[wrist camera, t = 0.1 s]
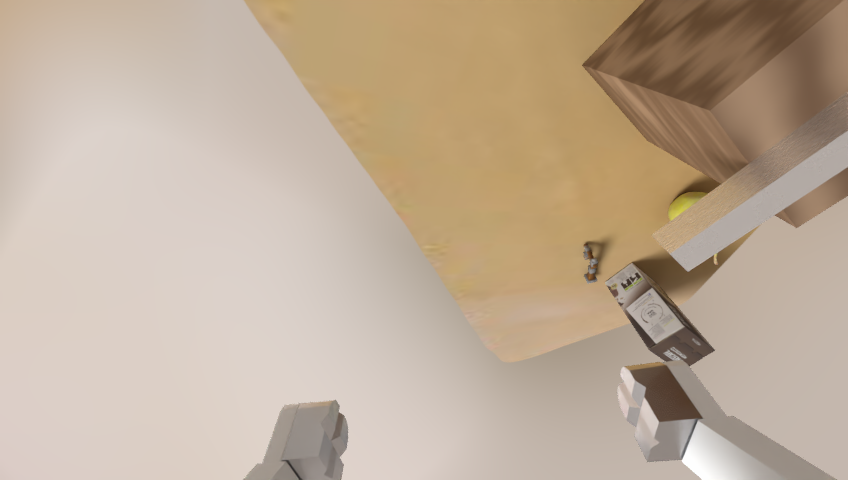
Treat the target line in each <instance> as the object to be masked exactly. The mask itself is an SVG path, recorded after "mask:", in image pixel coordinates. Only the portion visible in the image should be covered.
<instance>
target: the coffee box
mask: <svg viewBox="0 0 848 480" xmlns="http://www.w3.org/2000/svg"><path fill="white" fill-rule="evenodd" d="M605 284H606V285H607V287H608V288H609V290H610V291H611V293H612V294H613V296H614V297H615V299H616V300H617V302H618V303H619V305H620V306H621V308H622V309H623V311H624V312H625V314H626V315H627V317H628V319H629V320H630V322H631V323H632V325H633V326H634V328H635V329H636V331H637V332H638V334H639V335H640V337H641V338H642V340H643V341H644V343H645V344H646V346H647V347H648V349H649V350H650V351H651V352H653V353H654V354H656V355H657V356H659V357H660V358H661V359H663V360H664V361H666V362H668V361H675V360H683V361H684V362H686V363H687V364H688V366H690V365H692V364H694V363H695V362H697V361H699V360H700V359H702V358H703V357H705V356H706V355H708V354H710V353H711V352H713V351H715V350H714V349H713V348H712V346H711V345H710V344H709V343H708V342H707V340H706V339H705V338H704V337H703V336H702V335H701V333H700V332H699V331H698V330H697V329H696V328H695V327H694V325H693V324H692V323H691V322H690V321H689V320H688V318H687V317H686V316H685V315H684V314H683V313H682V312H681V310H680V309H679V308H678V307H677V306H676V305H675V304H674V302H673V301H672V300H671V299H670V298H669V297H668V296H667V294H666V293H665V292H664V291H663V290H662V289H661V287H660V286H659V285H658V284H657V283H656V282H654V281H653V280H652V279H651V278H650V277H648V276H647V275H646V274H645V273H644V272H642V271H641V270H640V269H639V268H638V267H637V266H635V265H634V264H633V263H631V264H629V265H628V266H627V267H625V268H624V269H623V270H621V271H620V272H618V273H617V274H616V275H614V276H613V277H612V278H610V279H609V280H607V281H606V282H605Z"/></svg>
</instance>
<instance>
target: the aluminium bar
mask: <svg viewBox="0 0 848 480" xmlns="http://www.w3.org/2000/svg"><path fill="white" fill-rule="evenodd" d="M847 167H848V92H846V93H845V94H844V95H842V96H841V97H840V98H838V99H837V100H835V101H834V102H833V103H831V104H830V105H829V106H827V107H826V108H825V109H823V110H822V111H820V112H819V113H818V114H816V115H815V116H814V117H812V118H811V119H809V120H808V121H807V122H805V123H804V124H803V125H801V126H800V127H799V128H797V129H796V130H794V131H793V132H792V133H790V134H789V135H788V136H786V137H785V138H783V139H782V140H781V141H779V142H778V143H777V144H775V145H774V146H773V147H771V148H770V149H768V150H767V151H766V152H764V153H763V154H762V155H760V156H759V157H757V158H756V159H755V160H753V161H752V162H751V163H749V164H748V165H747V166H745V167H744V168H742V169H741V170H740V171H738V172H737V173H736V174H734V175H733V176H732V177H730V178H729V179H727V180H726V181H725V182H723V183H722V184H721V185H719V186H718V187H716V188H715V189H714V190H712V191H711V192H710V193H708V194H707V195H706V196H704V197H703V198H701V199H700V200H699V201H697V202H696V203H695V204H693V205H692V206H690V207H689V208H688V209H686V210H685V211H684V212H682V213H681V214H680V215H678V216H677V217H675V218H674V219H673V220H671V221H670V222H669V223H667V224H666V225H664V226H663V227H662V228H660V229H659V230H658V231H656V232H655V233H654V234H652V235H651V236H652V237H653V238H654V239H655V240H656V241H657V242H658V243H659V244H660V245H661V246H662V247H663V248H664V249H665V250H666V251H667V252H668V253H669V254H670V255H671V256H672V257H673V258H674V259H675V260H676V261H677V262H678V263H679V264H680V265H681V266H682V267H683V268H684V269H685V270H686V271H687V272H689V271H690V270H692V269H693V268H695V267H696V266H698V265H699V264H701V263H702V262H704V261H705V260H707V259H709V258H710V257H712V256H713V255H715V254H716V253H718V252H719V251H721V250H722V249H724V248H725V247H727V246H728V245H730V244H731V243H733V242H734V241H736V240H737V239H739V238H741V237H742V236H744V235H745V234H747V233H748V232H750V231H751V230H753V229H754V228H756V227H757V226H759V225H760V224H762V223H763V222H765V221H766V220H768V219H769V218H771V217H772V216H774V215H776V214H777V213H779V212H780V211H782V210H783V209H785V208H786V207H788V206H789V205H791V204H792V203H794V202H795V201H797V200H798V199H800V198H801V197H803V196H805V195H806V194H808V193H809V192H811V191H812V190H814V189H815V188H817V187H818V186H820V185H821V184H823V183H824V182H826V181H827V180H829V179H830V178H832V177H833V176H835V175H837V174H838V173H840V172H841V171H843V170H844V169H846V168H847Z"/></svg>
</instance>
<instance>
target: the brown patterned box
mask: <svg viewBox="0 0 848 480" xmlns="http://www.w3.org/2000/svg"><path fill="white" fill-rule="evenodd" d="M582 66H583V67H584V68H585V69H586V70H587V71H588V73H589V74H590V75H591V76H592V77H593V78H594V79H595V81H596V82H597V83H598V84H599V85H600V86H601V88H602V89H603V90H604V91H605V92H606V93H607V95H608V96H609V97H610V98H611V99H612V100H613V101H614V103H615V104H616V105H617V106H618V107H619V108H620V110H621V111H622V112H623V113H624V114H625V115H626V116H627V118H628V119H629V120H630V121H631V122H632V123H633V125H634V126H635V127H636V128H637V129H638V130H639V131H640V133H641V134H642V135H643V136H644V137H645V138H646V140H647V141H649V142H651V143H652V144H654V145H656V146H658V147H659V148H661V149H663V150H664V151H666V152H668V153H670V154H671V155H673V156H675V157H676V158H678V159H680V160H681V161H683V162H685V163H687V164H688V165H690V166H692V167H693V168H695V169H697V170H699V171H700V172H702V173H704V174H705V175H707V176H709V177H710V178H712V179H714V180H716V181H717V182H719V183H721V184H722V183H723V182H725V181H726V180H727V179H729V178H730V177H732V176H733V175H734V174H736V173H737V172H738V171H740V170H741V169H742V168H744V167H745V166H747V165H748V164H749V163H751V162H752V161H753V160H755V159H756V158H757V157H759V156H760V155H762V154H763V153H764V152H766V151H767V150H768V149H770V148H771V147H773V146H774V145H775V144H777V143H778V142H779V141H781V140H782V139H783V138H785V137H786V136H788V135H789V134H790V133H792V132H793V131H794V130H796V129H797V128H799V127H800V126H801V125H803V124H804V123H805V122H807V121H808V120H809V119H811V118H812V117H814V116H815V115H816V114H818V113H819V112H820V111H822V110H823V109H825V108H826V107H827V106H829V105H830V104H831V103H833V102H834V101H835V100H837V99H838V98H840V97H841V96H842V95H844V94H845V93H846V92H848V0H645V1H644V2H643V3H642V4H641V5H640V6H639V7H638V8H637V9H636V10H635V11H634V12H633V14H632V15H631V16H630V17H629V18H628V19H627V20H626V21H625V22H624V23H623V24H622V25H621V26H620V27H619V28H618V29H617V30H616V31H615V32H614V33H613V34H612V35H611V36H610V37H609V38H608V39H607V40H606V41H605V42H604V43H603V44H602V45H601V46H600V47H599V48H598V49H597V50H596V51H595V53H594V54H593V55H592V56H591V57H590V58H589V59H588V60H587V61H586V62H585V63H584V64H583V65H582ZM846 196H848V167H847V168H846V169H844V170H843V171H841V172H840V173H838V174H837V175H835V176H833V177H832V178H830V179H829V180H827V181H826V182H824V183H823V184H821V185H820V186H818V187H817V188H815V189H814V190H812V191H811V192H809V193H808V194H806V195H805V196H803V197H801V198H800V199H798V200H797V201H795V202H794V203H792V204H791V205H789V206H788V207H786V208H785V209H783V210H782V211H780V212H779V213H777V214H776V215H775V216H777V217H779V218H780V219H782V220H784V221H786V222H787V223H789V224H791V225H793V226H794V227H796V228H797V227H799V226H801V225H802V224H804V223H805V222H807V221H809V220H810V219H812V218H813V217H815V216H816V215H818V214H820V213H821V212H823V211H824V210H826V209H828V208H829V207H831V206H832V205H834V204H836V203H837V202H839V201H840V200H842V199H844V198H845V197H846Z"/></svg>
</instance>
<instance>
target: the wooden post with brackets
mask: <svg viewBox="0 0 848 480" xmlns="http://www.w3.org/2000/svg"><path fill="white" fill-rule="evenodd" d="M584 248H585V251H586V252H583V253H584V258H585V260H586V259H590V265H589V267H588V274H585V275H584V277H585V279H586V281H587V283H592V282H596V281H597V278H596V276H595V274H594V273H595V271H596V267H597V264H598V261H597V259H596V258H594V257H593V255H592V253H591V250H590V247H588V244H584Z"/></svg>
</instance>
